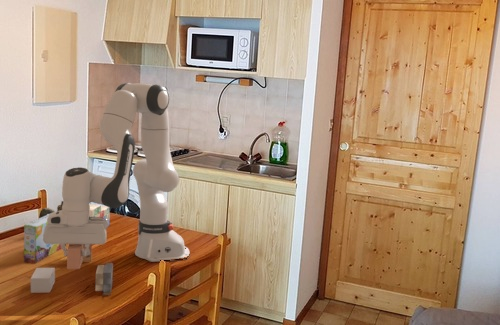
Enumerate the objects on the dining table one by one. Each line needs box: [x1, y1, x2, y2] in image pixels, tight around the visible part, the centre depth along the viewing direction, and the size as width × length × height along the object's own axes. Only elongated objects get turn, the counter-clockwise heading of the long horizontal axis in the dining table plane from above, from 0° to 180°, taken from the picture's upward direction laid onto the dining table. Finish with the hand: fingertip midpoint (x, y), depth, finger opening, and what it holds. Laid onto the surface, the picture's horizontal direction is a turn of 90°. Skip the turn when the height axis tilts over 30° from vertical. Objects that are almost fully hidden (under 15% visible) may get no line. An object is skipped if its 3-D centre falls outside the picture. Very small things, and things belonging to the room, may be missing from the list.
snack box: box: [23, 210, 63, 264], centre depth 206 cm, size 21×6×15 cm, turn 168°
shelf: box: [94, 262, 114, 296], centre depth 177 cm, size 26×10×8 cm, turn 101°
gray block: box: [30, 267, 56, 294], centre depth 175 cm, size 6×9×5 cm, turn 11°
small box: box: [82, 244, 93, 263], centre depth 202 cm, size 8×6×10 cm
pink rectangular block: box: [66, 244, 83, 270], centre depth 175 cm, size 4×8×7 cm, turn 10°
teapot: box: [38, 200, 63, 219], centre depth 232 cm, size 21×12×15 cm, turn 141°
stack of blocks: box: [89, 203, 111, 227], centre depth 238 cm, size 21×6×12 cm, turn 169°
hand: (75, 255), depth 175 cm, fingers closed on pink rectangular block, 4 cm apart
